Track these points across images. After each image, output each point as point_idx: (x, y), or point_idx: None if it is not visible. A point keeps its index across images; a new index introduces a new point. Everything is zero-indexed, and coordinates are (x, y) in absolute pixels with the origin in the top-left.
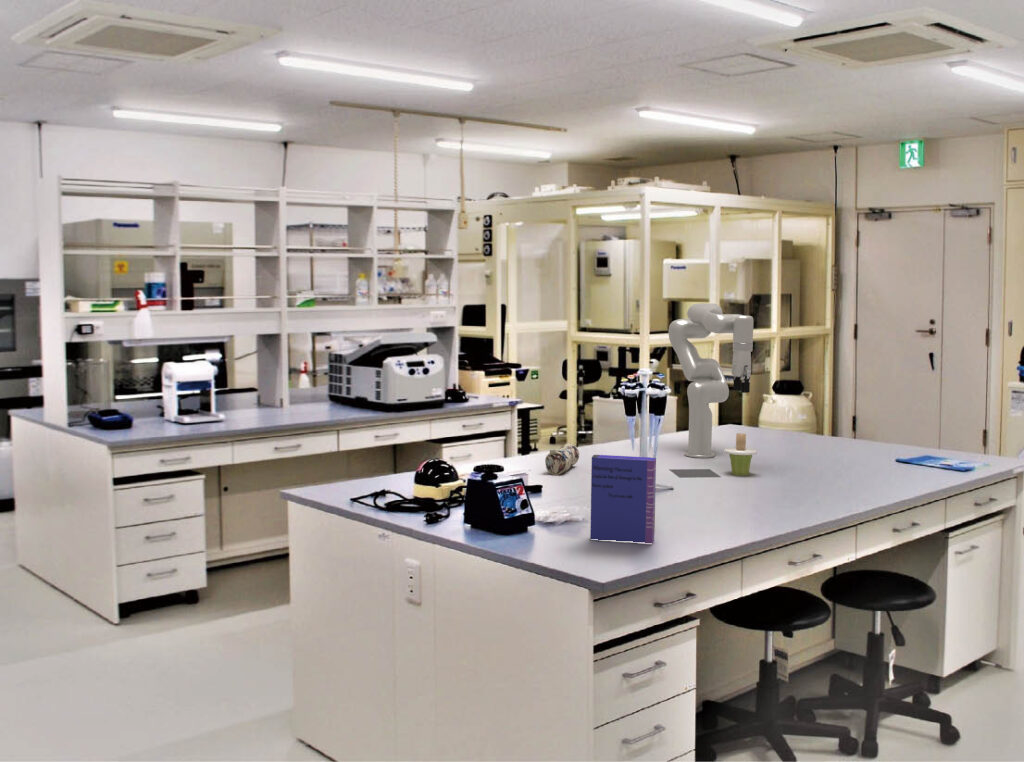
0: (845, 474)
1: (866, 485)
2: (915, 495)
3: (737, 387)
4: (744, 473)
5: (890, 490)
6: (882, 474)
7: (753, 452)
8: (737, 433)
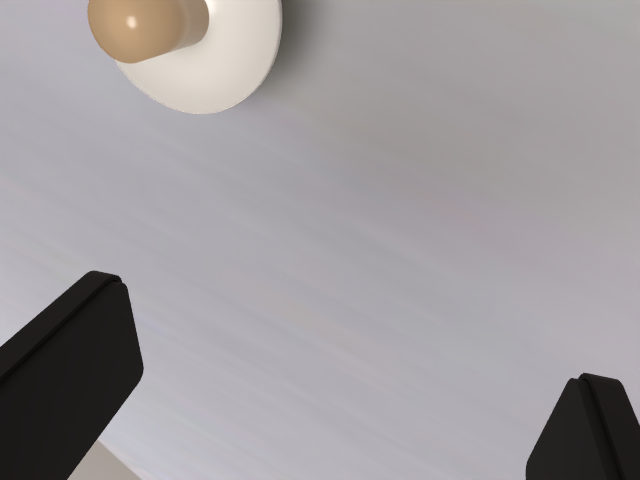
0: (243, 368)
1: None
2: None
3: (555, 457)
4: None
5: None
6: (241, 437)
7: (118, 62)
8: (146, 5)
